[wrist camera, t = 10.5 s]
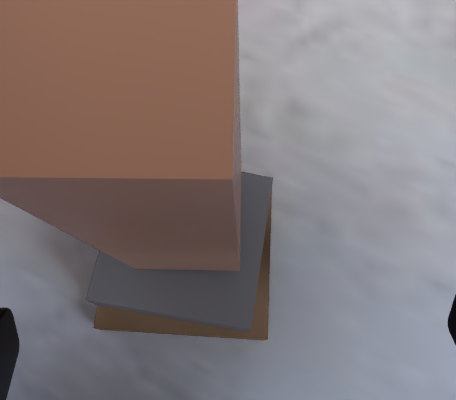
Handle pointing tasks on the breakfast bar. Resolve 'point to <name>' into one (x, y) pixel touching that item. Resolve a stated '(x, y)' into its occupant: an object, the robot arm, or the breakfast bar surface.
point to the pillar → (126, 126)
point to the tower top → (194, 276)
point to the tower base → (155, 324)
